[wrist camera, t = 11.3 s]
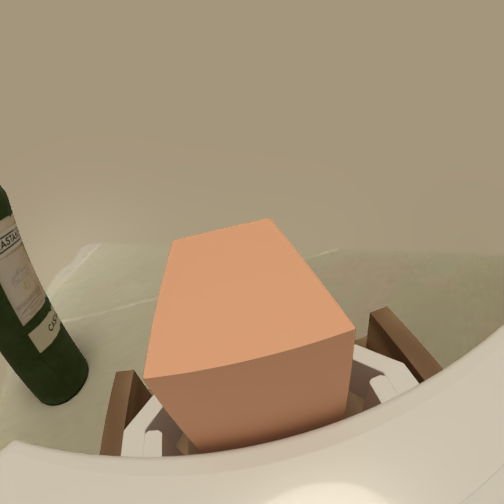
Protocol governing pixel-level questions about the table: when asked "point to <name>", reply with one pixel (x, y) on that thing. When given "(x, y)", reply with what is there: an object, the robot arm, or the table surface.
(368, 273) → the table surface
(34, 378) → the wine bottle
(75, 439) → the table surface
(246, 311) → the salmon rectangular prism
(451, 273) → the table surface
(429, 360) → the rack
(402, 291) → the table surface
